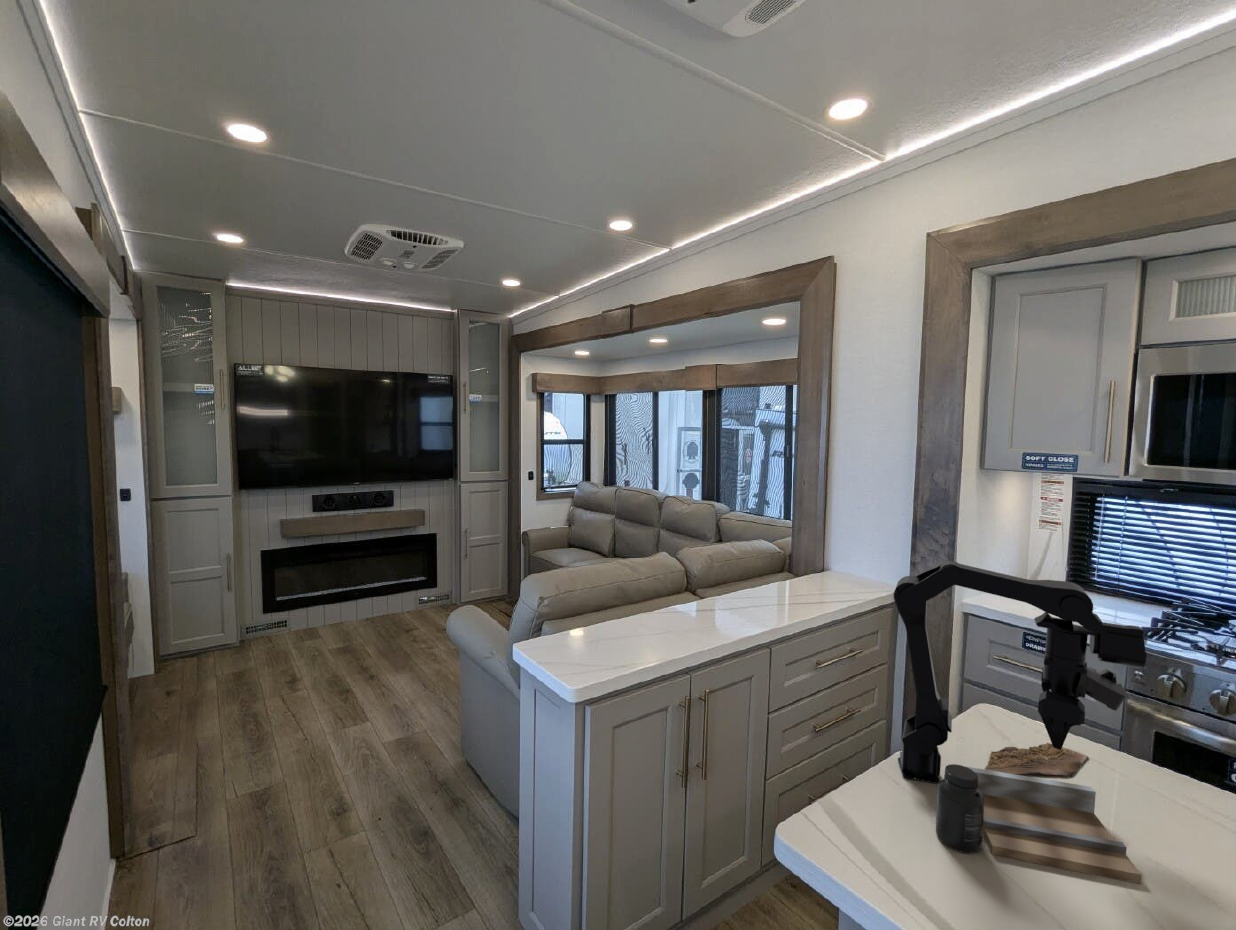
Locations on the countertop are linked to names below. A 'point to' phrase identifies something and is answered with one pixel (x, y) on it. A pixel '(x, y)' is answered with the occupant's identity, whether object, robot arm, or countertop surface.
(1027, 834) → the cleat board
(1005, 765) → the wooden fragment
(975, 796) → the supplement bottle
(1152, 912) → the countertop surface
